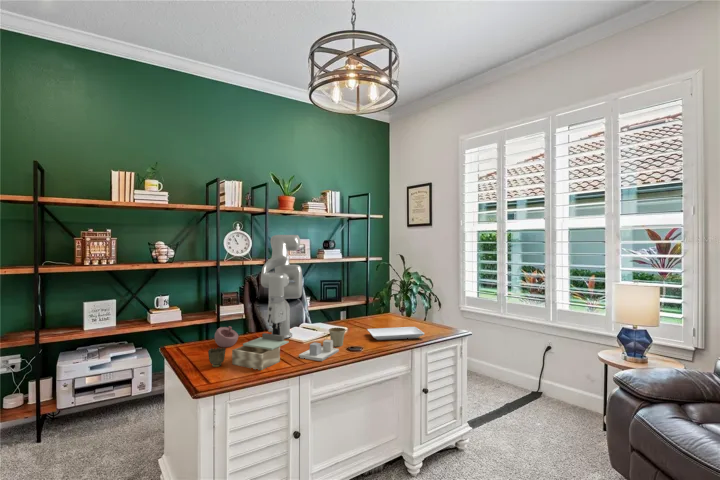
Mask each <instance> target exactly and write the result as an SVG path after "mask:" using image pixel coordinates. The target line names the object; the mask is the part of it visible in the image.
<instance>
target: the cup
mask: <svg viewBox="0 0 720 480" xmlns="http://www.w3.org/2000/svg"><path fill="white" fill-rule="evenodd" d="M226 351H227V350H226V347H220V346H218V347H216V348H215V347H214V348H210V349H208V350H207V355H208V361H209V362H210V364H211V366H212V367H213V368H219V367H221V366H222V364H223V363H224V361H225V357H226Z"/></svg>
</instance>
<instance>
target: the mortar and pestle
mask: <svg viewBox="0 0 720 480" xmlns="http://www.w3.org/2000/svg"><path fill="white" fill-rule="evenodd" d="M232 328H233V327H232V326H230V325H229V326H228V327H227V326H220V327H219V328H217V329H216V330H215V333H214V342H215V344H217V346H218V347H220V348H222V347H223V348H231V347H233V346H234V345H235V344H236V343H237V342H238V339H239V334H238V332H237V331H235V330H234V329H232Z"/></svg>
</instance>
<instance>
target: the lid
mask: <svg viewBox="0 0 720 480" xmlns="http://www.w3.org/2000/svg"><path fill="white" fill-rule="evenodd" d="M289 343H290V342H289V340H285V339H284V336H283V335H275V334H272V333H265V332H263V333H262V337H261V336H260V337H258V338H254V339H252V340H249V341H246V342H243V343H242V346H249V347H256V348H263V349H269V350H273V349H275V348H277V347H280V348H281V347H282V346H284V345H286V344H289Z"/></svg>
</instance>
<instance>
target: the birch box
mask: <svg viewBox="0 0 720 480" xmlns="http://www.w3.org/2000/svg"><path fill="white" fill-rule="evenodd" d="M231 350H232V351H231V365H234V366H239V367H244V368H248V369H251V368H253V369H252V370H256V369H258V370H257V371H261V370H262V371H264V370H266V369H268V368H271V367H272V366H274V365H276V364H278V363H280V362H281V346H280V347H277V348H275V349H273V350H269V349H263V348H256V347H249V346H243V345H242V346H239V347H237V348H234V349H231ZM267 367H268V368H267ZM265 368H266V369H265ZM263 369H264V370H263Z"/></svg>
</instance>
